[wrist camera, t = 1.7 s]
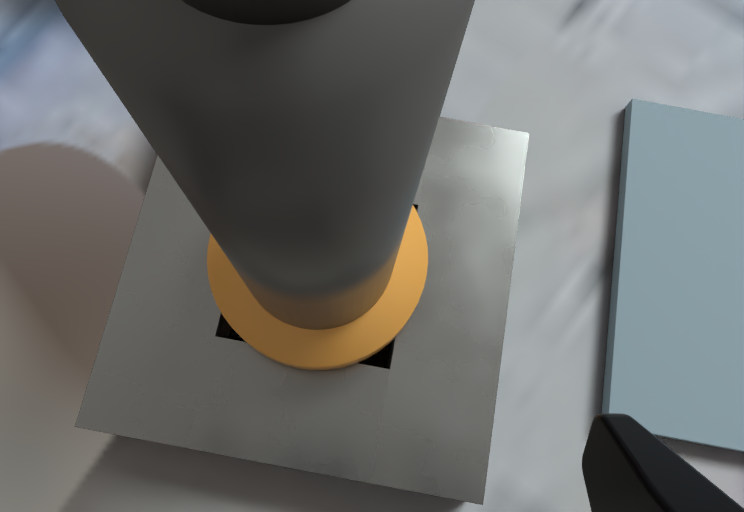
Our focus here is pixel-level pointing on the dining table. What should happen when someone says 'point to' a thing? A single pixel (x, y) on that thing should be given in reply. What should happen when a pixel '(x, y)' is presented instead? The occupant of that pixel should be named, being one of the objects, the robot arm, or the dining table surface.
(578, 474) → the dining table surface
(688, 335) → the mat
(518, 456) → the dining table surface
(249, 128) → the plug
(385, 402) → the socket block
